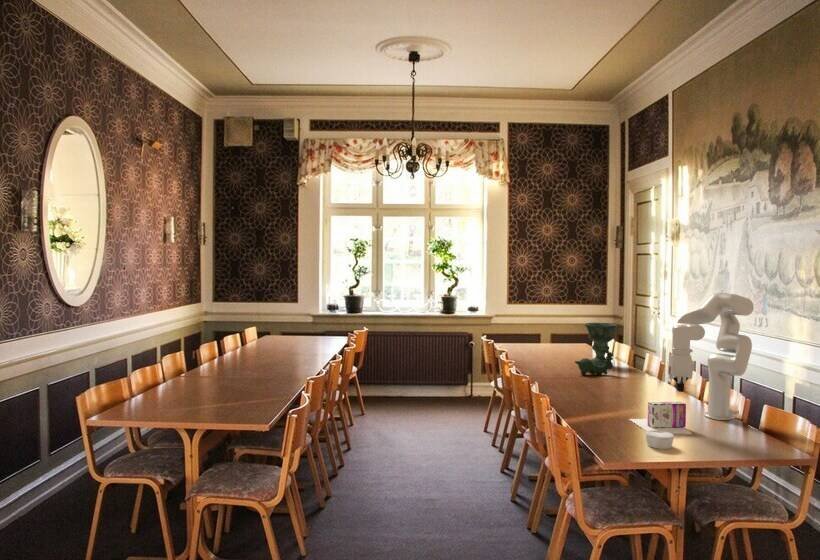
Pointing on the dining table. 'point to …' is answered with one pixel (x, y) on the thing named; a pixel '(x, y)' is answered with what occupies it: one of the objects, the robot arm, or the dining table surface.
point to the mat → (644, 425)
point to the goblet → (600, 339)
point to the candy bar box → (666, 414)
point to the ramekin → (659, 439)
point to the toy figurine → (592, 368)
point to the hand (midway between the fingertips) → (680, 391)
